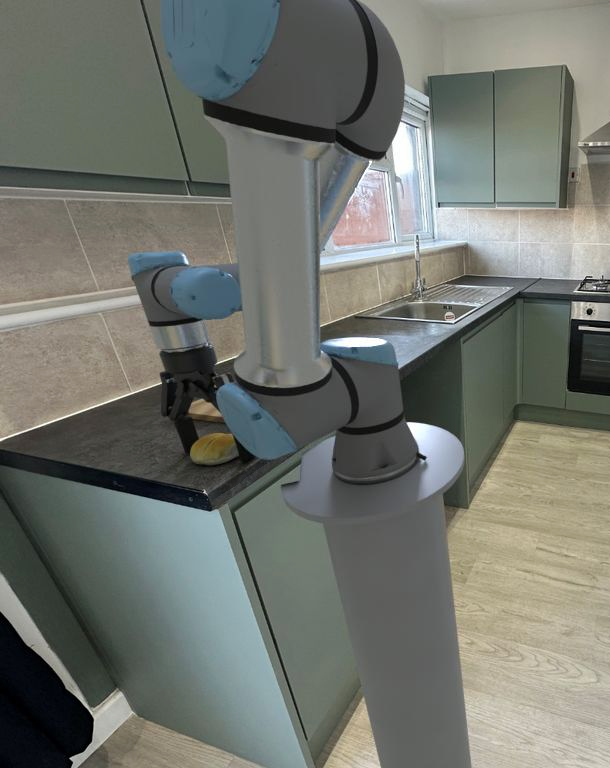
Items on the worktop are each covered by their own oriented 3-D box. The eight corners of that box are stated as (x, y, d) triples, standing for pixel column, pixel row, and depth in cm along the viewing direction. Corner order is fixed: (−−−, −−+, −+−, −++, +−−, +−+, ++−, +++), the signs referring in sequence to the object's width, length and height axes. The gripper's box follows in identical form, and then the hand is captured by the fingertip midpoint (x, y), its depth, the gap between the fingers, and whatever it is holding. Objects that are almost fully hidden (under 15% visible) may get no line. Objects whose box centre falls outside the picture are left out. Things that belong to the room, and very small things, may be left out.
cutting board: (290, 400, 103) (289, 394, 102) (242, 425, 90) (240, 419, 90) (227, 393, 108) (226, 388, 108) (174, 416, 96) (171, 410, 95)
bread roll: (219, 442, 83) (213, 424, 82) (256, 447, 81) (250, 428, 80) (179, 464, 76) (172, 445, 75) (218, 469, 74) (212, 450, 72)
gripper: (261, 344, 71) (289, 451, 79) (155, 337, 78) (190, 437, 85) (222, 357, 64) (256, 473, 72) (109, 348, 71) (151, 455, 79)
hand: (220, 454), depth 79 cm, fingers open, 13 cm apart
